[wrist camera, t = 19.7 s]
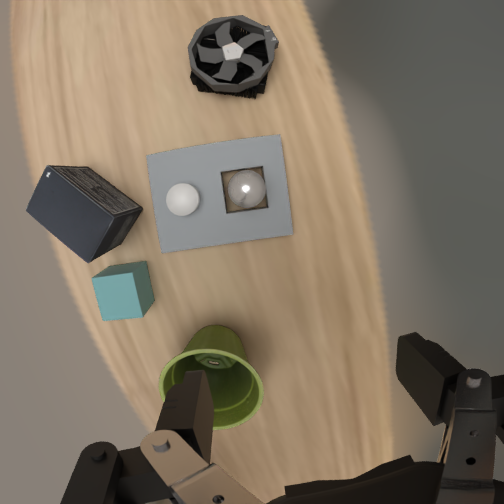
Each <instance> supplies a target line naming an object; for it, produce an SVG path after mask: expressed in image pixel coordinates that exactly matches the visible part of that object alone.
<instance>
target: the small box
mask: <svg viewBox="0 0 504 504" xmlns="http://www.w3.org/2000/svg"><path fill="white" fill-rule="evenodd" d="M142 210H143V209H142V207H141V206H139V205H138V204H137V203H135V202H134V201H133V200H131V199H130V198H129V197H127V196H126V195H125V194H124V193H122V192H121V191H119V190H118V189H117V188H115V187H114V186H113V185H111V184H110V183H109V182H108V181H106V180H105V179H103V178H102V177H101V176H99V175H98V174H97V173H95V172H94V171H93V170H91V169H90V168H89V167H76V166H75V167H74V166H51V165H47V166H46V168H45V170H44V172H43V174H42V176H41V178H40V180H39V182H38V184H37V186H36V188H35V190H34V193H33V195H32V197H31V199H30V201H29V204H28V206H27V208H26V211H27V212H28V213H29V214H30V215H31V216H32V217H34V218H35V219H36V220H37V221H38V222H39V223H40V224H41V225H43V226H44V227H45V228H46V229H47V230H48V231H50V232H51V233H52V234H53V235H54V236H55V237H57V238H58V239H59V240H60V241H61V242H62V243H64V244H65V245H66V246H67V247H68V248H70V249H71V250H72V251H73V252H75V253H76V254H77V255H78V256H79V257H81V258H82V259H83V260H84V261H86V262H87V263H90V262H91V261H93V260H94V259H96V258H98V257H100V256H101V255H103V254H105V253H106V252H108V251H110V250H112V249H113V248H115V247H117V246H119V245H121V243H122V242H123V240H124V239H125V237H126V235H127V234H128V232H129V231H130V229H131V227H132V226H133V224H134V223H135V221H136V219H137V218H138V216H139V215H140V213H141V212H142Z"/></svg>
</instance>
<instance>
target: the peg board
mask: <svg viewBox="0 0 504 504" xmlns="http://www.w3.org/2000/svg"><path fill="white" fill-rule="evenodd" d="M146 157H147V165H148V172H149V180H150V187H151V193H152V200H153V206H154V213H155V219H156V225H157V230H158V236H159V242H160V247H161V253H167V252H174V251H181V250H188V249H194V248H201V247H208V246H215V245H222V244H229V243H236V242H243V241H250V240H257V239H264V238H271V237H278V236H286V235H293V228H292V219H291V211H290V203H289V195H288V187H287V180H286V172H285V165H284V158H283V151H282V144H281V137H280V134H279V135H270V136H261V137H253V138H245V139H237V140H230V141H223V142H217V143H210V144H204V145H198V146H192V147H187V148H181V149H176V150H171V151H165V152H160V153H155V154H151V155H146ZM260 167H261V169H262V176H263V180H264V182H265V185H266V193H265V198H266V207H259V208H252V209H245V210H238V211H231V212H227V207H226V200H225V193H224V186H223V179H222V173H224V172H231V171H238V170H245V169H252V168H260Z"/></svg>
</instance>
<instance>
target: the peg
mask: <svg viewBox="0 0 504 504" xmlns="http://www.w3.org/2000/svg"><path fill="white" fill-rule="evenodd" d="M265 193H266V185H265V182H264V180H263V178H262V177H261V176H260V175H259V174H258V173H256V172H254V171H251V170H243V171H240V172H238V173H236V174H235V175H234V176H233V177H232V178H231V179H230V181H229V184H228V194H229V197H230V198H231V200H232V201H233V202H234V203H235V204H236V205H238V206H240V207H243V208H250V207H254V206H256V205H258V204H259V203H260V202H261V201H262V200H263V198H264V196H265Z"/></svg>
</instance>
